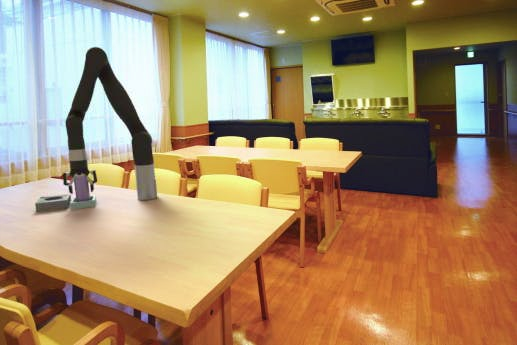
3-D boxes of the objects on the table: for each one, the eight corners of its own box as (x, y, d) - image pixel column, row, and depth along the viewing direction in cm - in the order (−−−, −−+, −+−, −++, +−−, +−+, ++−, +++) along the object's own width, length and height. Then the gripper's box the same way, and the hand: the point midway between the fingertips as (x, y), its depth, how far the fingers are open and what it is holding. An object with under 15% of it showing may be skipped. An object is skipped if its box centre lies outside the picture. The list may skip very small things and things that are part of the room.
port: (71, 201, 181) (70, 192, 181) (68, 208, 170) (67, 198, 169) (41, 205, 177) (40, 196, 176) (36, 212, 165) (34, 202, 164)
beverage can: (85, 207, 171) (81, 175, 168) (74, 206, 172) (70, 175, 169) (93, 203, 176) (89, 173, 174) (82, 203, 178) (78, 173, 175)
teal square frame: (96, 201, 181) (95, 195, 180) (95, 206, 171) (94, 200, 171) (73, 203, 177) (72, 197, 176) (70, 209, 167) (69, 203, 167)
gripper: (95, 156, 176) (98, 189, 179) (62, 158, 171) (66, 192, 174) (94, 158, 169) (97, 192, 172) (59, 161, 164) (64, 196, 167)
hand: (81, 192), depth 173 cm, fingers open, 8 cm apart
